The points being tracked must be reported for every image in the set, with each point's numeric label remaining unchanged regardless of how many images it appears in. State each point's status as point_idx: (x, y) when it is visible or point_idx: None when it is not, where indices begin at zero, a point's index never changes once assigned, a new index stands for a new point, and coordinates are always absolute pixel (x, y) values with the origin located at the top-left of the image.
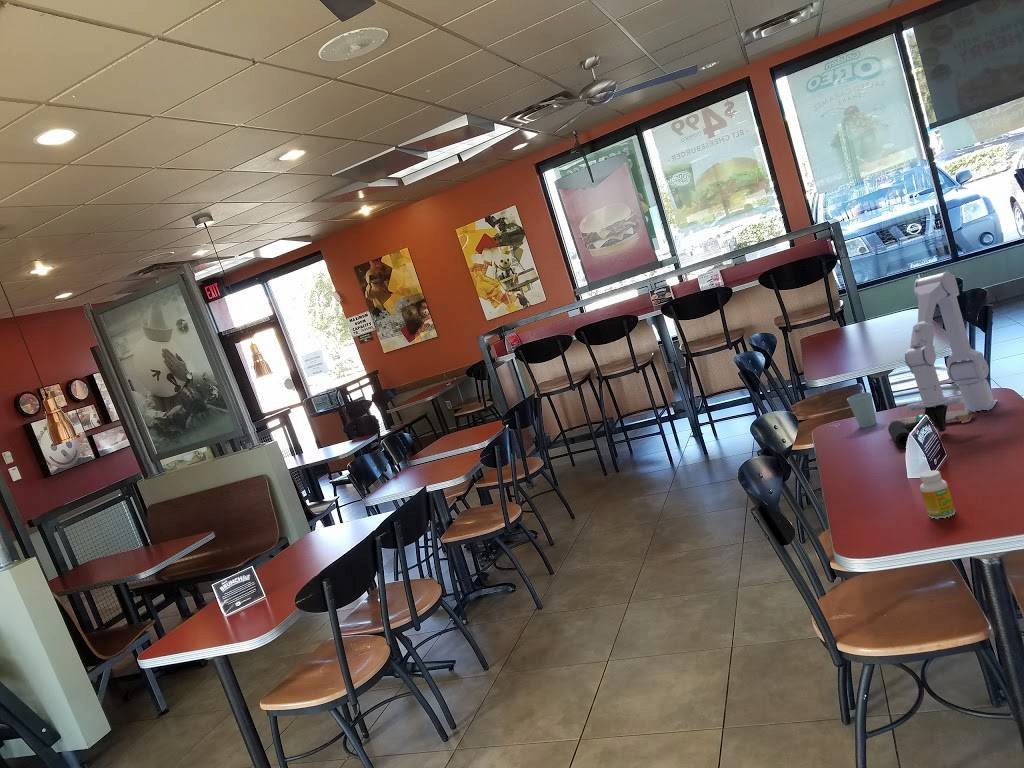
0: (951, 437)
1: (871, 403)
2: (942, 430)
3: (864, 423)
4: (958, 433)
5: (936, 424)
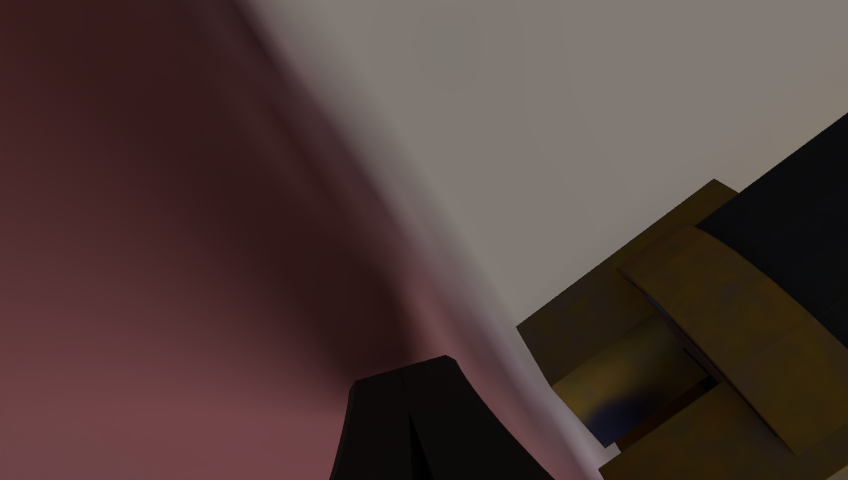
0: (52, 156)
1: None
2: (380, 387)
3: None
4: (79, 389)
5: (494, 471)
